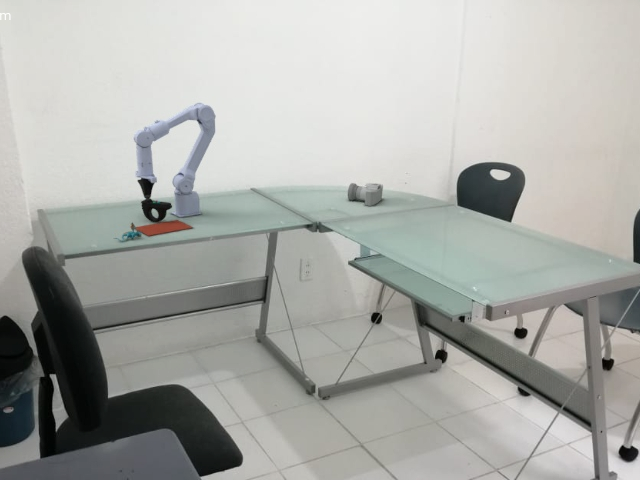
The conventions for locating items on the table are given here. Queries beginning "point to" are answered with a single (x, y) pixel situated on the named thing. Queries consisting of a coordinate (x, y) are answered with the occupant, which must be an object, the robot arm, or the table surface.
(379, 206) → the table surface
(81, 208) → the table surface
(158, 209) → the controller
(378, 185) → the digital camera
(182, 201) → the robot arm
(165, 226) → the mat
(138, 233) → the dragon figurine
